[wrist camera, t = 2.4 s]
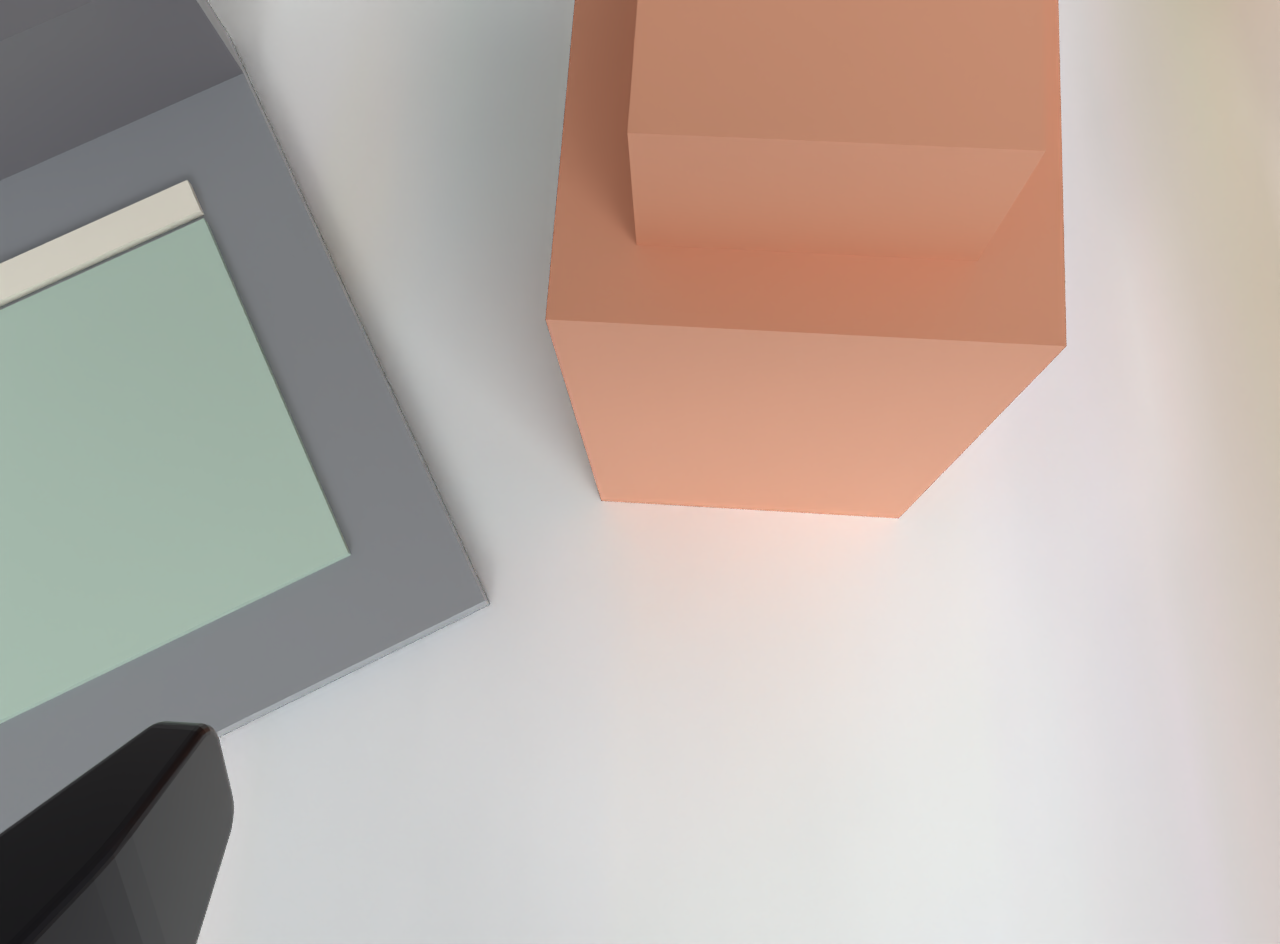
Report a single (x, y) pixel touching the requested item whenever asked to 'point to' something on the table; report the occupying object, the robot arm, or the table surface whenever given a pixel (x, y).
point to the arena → (181, 407)
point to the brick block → (804, 243)
